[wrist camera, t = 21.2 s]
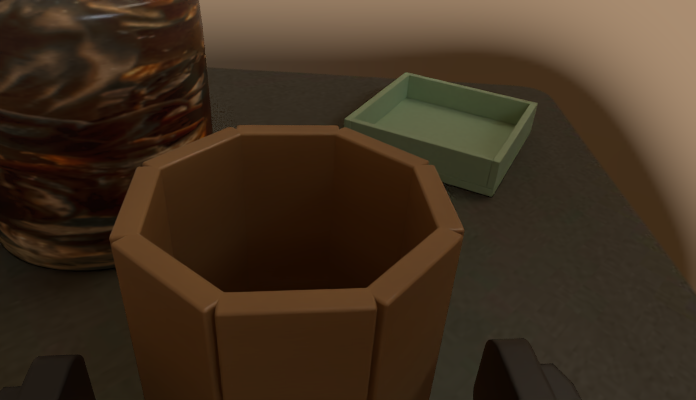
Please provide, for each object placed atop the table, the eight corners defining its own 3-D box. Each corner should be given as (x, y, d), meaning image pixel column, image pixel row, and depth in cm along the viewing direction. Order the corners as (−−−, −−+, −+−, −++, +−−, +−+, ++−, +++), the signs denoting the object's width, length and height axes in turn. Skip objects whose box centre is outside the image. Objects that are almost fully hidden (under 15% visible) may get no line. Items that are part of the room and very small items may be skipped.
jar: (140, 142, 40) (101, -96, 32) (256, 205, 34) (246, -65, 26) (-41, 212, 32) (-155, -82, 24) (71, 309, 26) (-28, -32, 18)
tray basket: (530, 133, 45) (537, 102, 43) (491, 197, 37) (500, 162, 35) (402, 100, 49) (405, 71, 47) (342, 152, 41) (343, 118, 39)
